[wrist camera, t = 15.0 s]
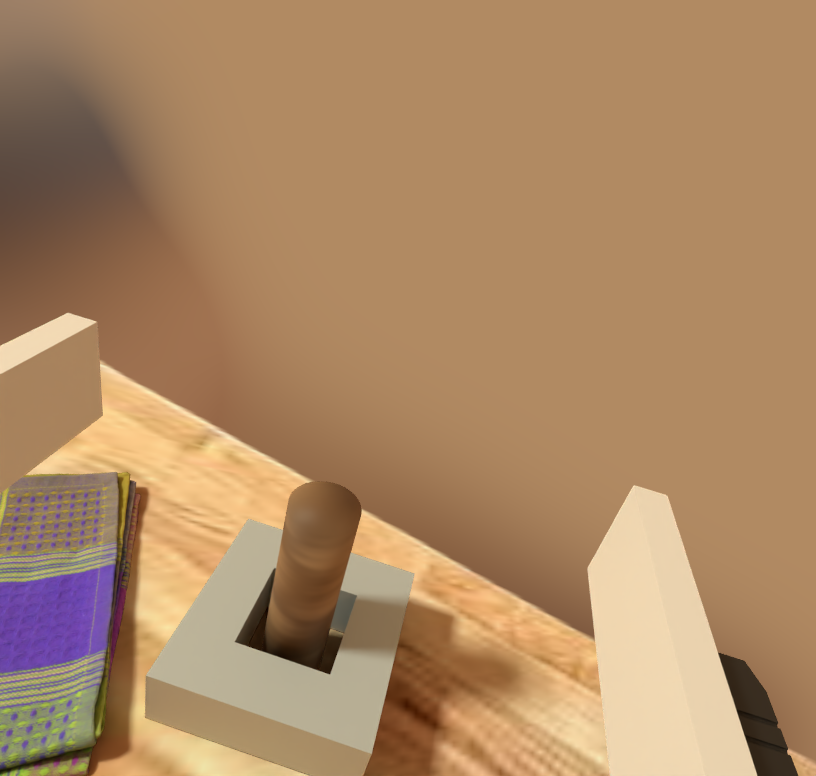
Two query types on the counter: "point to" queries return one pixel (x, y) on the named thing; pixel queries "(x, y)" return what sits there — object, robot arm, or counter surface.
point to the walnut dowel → (310, 571)
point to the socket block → (281, 665)
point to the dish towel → (60, 614)
